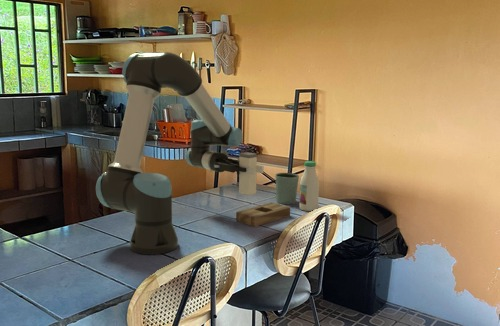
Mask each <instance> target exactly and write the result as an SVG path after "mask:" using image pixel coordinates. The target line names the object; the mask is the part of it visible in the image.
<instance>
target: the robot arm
mask: <svg viewBox="0 0 500 326" xmlns="http://www.w3.org/2000/svg"><path fill="white" fill-rule="evenodd" d="M121 75H122V76H123V80H124V82H125V84H126V85H125V89H126V90H127V91H128V97H127V102H126V107H125V111H124V116H123V120H122V125H121V129H120V133H119V137H118V143H117V147H116V152H115V156H114V161H112V163H110V164H108V166H107V170H106V171H105V172H103V173H102V174H101V175H100V176H99V177H98V179H97V181H96V184H95V193H96V197H97V199H98V201H99V202H100V203H101V205H102V206H104V207H106V208H110V209H112V210H119V211H125V212H130V213H134V222H135V223H134V228H133V231H132V234H131V237H130V243H129V244H130V246H129V247H130V250H131V251H132V252H134V253H137V254H141V255H160V254H166V253H169V252H171V251H174V250H176V249H177V248H178V247H179V239H178V235H177V233H176V230H175V227H174V225H173V199H172V198H173V189H172V182H171V180H170V178H169V177H168V176H166V175H165V174H160V173H157V172H143V170H142V169H141V163H142V158H143V155H144V149H145V144H146V140H147V137H148V136H147V135H148V131H149V127H150V126H149V125H150V123H151V117H152V113H153V108H154V104H155V103H154V102H155V100H156V99H157V98H159V97H160V96H161V93H162V89H163V88H165V89H166V88H168V89H172V90H174V91H175V92H176V93H177V94H178V95H179V96H181V97H182V98H183V97H184V98H185V100H186V101H187V102H188V104H189V105H190V106H191V107H192V109H193V110H194V111H195V113H196V114H197V116H198V117H199V118H200V119H194V120H192V121H191V123H190V148H189V149H187V152H186V154H185V160H186V163H187V164H188V165H190V166H192V167H194V168H200V169H203V170H209V172H217V173H223V172H228V173H229V172H230V173H232V174H234V173H236V175H239V174H240V172H241V173H246V174H250V175H254V173H255V167H250V166H245V165H241V166H240V165H239V158H238V159H233V158H230V157H228V155H227V154H225V153H224V152H218V151H214V150H213V151H212V150H210V146H211V145H212V146H213V145H214V146H222V147H228V148H230V147H233V148H235V147H239V146H240V145H241V144H242V141H243V132H242V130H241V129H240V128H239V127H236V126H232V125H231V124H230V122H229V121H228V120H227V118H226V117H225V115H224V113H222V111H221V110H220V108H219V107H218V105H217V104H216V103H215V101H214V100H213V98H212V96H211V95H210V93H209V92H208V91H207V89H206V88H205V87H204V85H203V79H202V77H201V76H200V74H199V72H197V70H196V69H195V68H194V67H193V65H192V64H190V63H189V62H188V61H186V60H185V58H183V57H181V56H179V55H177V54H176V53H173V52H168V51H167V52H165V51H164V52H146V51H143V52H137V53H133V54H130V55H129V56H128V57H127V58H126V59H125V61H124V62H123V65H122V71H121ZM264 167H265V166H264V165H261V164H257V165H256V173H259V174H264V172H265V171H264V169H265V168H264Z"/></svg>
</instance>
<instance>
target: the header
mask: <svg viewBox="0 0 500 326" xmlns="http://www.w3.org/2000/svg"><path fill="white" fill-rule="evenodd" d="M288 217H291V206H286V205H284V204H280V203H277V202H268V203H264V204H261V205H257V206H253V207H250V208H246V209H242V210H239V211H236V213H235V221H236V222H239V223H242V224H245V225H248V226H252V227H255V228H256V227H259V226H262V225H266V224H269V223H272V222H275V221H279V220H281V219H285V218H288Z"/></svg>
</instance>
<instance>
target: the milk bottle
mask: <svg viewBox="0 0 500 326" xmlns="http://www.w3.org/2000/svg"><path fill="white" fill-rule="evenodd" d="M303 164H304V171H303V173H302V175H301V178H300V180H299V181H300V182H299V202H298V203H299V204H298V205H299V206H298V207H299V209H300V210H301V211H305V212H313V211H312V210H314V209H317V208H318V209H319V195H320V193H319V192H320V191H319V189H320V187H319V185H320V183H319V182H320V181H319V177H318V175H317V172H316V167H317V165H316V164H317V162H316V161H314V160H308V161H307V160H306V161H304V163H303ZM318 209H317V210H318Z"/></svg>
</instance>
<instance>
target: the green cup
mask: <svg viewBox="0 0 500 326" xmlns="http://www.w3.org/2000/svg"><path fill="white" fill-rule="evenodd" d="M299 179H300V178H299V174H296V173H293V172H279V173H276V174H275V201H276V202H275V203H276V204H280V205H293V204H295V203H296V202H297V192H298V185H299Z"/></svg>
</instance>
